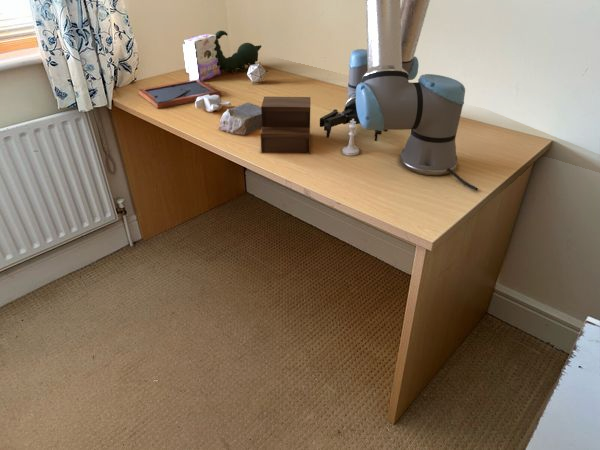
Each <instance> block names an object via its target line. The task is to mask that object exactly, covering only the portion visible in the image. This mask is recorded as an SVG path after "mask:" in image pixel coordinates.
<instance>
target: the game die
mask: <svg viewBox="0 0 600 450" xmlns="http://www.w3.org/2000/svg"><path fill="white" fill-rule="evenodd" d="M249 65H250V64H249ZM268 72H269V70H266V69H265V68H264V67H263V65H262V64H261V61H259V63H255V64H253V65H250V67H248V70H247V74H245V75H244V76H245V77H248V78H249V79H250V81H251V82H252V85H254V84H256V83H260V82H262V83H264V84H265V81H264V80H265V77H266V73H268Z"/></svg>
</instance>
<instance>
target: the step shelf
mask: <svg viewBox="0 0 600 450" xmlns="http://www.w3.org/2000/svg"><path fill="white" fill-rule="evenodd" d="M260 107H261V113H262V128H261V129H260V135H259V136H260V151H261V154H308V155H309V154H310V152H311V151H310V147H311V96H263V99H262V103H261V106H260Z"/></svg>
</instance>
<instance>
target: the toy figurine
mask: <svg viewBox="0 0 600 450" xmlns="http://www.w3.org/2000/svg"><path fill="white" fill-rule="evenodd" d="M214 35H216V40H215V42H214V44H215V45H216V47H215V48H214V50H215V51H216V52H217V55H215V58H218V62H217V66H220V72H222V71H223V72H224V73H228V72H232V73H233V74H236V73H237V71H238V70H239V69H240V70H241V71H245V70H246V68H247V67H248V68H249V67H250V65H253V64H256V62H258V61H259V51H260V50H261V48H262V45H255V44H253V43H252V42H243V43H242V44H240V45H239V46H238V48H237V51H236V52H234V53H232V55H231V56H228V57H226V56H225V55H224V53H223V51H222V48H221V45H220V42H219V40H220V39H221V38H222V37H223V36H229V35H228V33H227V31H225V30H218V31H216V33H215V34H214ZM249 64H250V65H249ZM246 66H247V67H246Z"/></svg>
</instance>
